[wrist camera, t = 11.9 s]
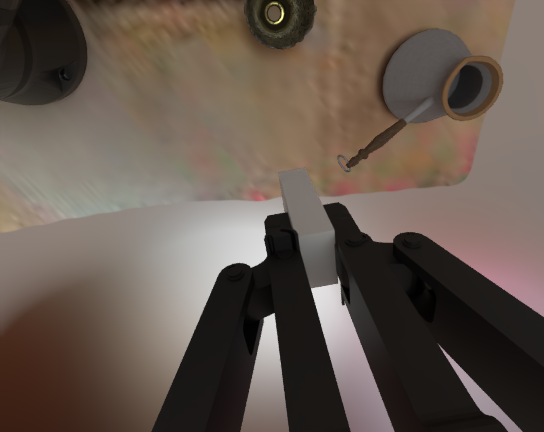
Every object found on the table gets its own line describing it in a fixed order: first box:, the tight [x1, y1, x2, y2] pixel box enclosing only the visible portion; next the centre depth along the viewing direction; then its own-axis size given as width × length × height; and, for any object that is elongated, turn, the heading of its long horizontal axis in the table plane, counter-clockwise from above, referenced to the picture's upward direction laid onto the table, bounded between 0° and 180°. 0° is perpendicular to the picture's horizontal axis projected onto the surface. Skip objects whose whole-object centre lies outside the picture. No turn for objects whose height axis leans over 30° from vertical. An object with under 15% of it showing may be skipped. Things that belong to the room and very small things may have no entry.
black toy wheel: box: [244, 0, 317, 49], centre depth 36 cm, size 8×7×8 cm
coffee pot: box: [338, 29, 503, 172], centre depth 39 cm, size 21×12×15 cm, turn 119°
